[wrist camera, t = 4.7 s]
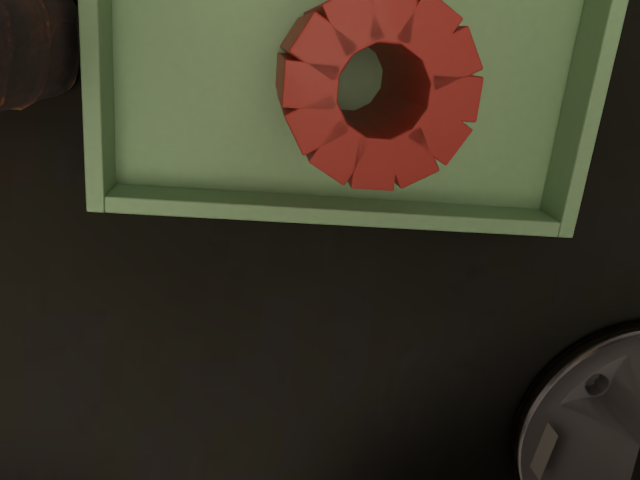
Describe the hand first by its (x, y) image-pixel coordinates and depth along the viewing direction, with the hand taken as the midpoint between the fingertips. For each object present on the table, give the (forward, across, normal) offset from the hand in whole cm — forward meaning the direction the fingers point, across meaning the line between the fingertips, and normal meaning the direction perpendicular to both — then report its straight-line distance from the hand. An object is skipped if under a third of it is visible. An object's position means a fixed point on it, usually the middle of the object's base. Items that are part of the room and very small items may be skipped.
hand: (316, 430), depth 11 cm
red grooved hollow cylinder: (+20, +3, +5) cm, 21 cm away
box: (+21, +3, +5) cm, 21 cm away
